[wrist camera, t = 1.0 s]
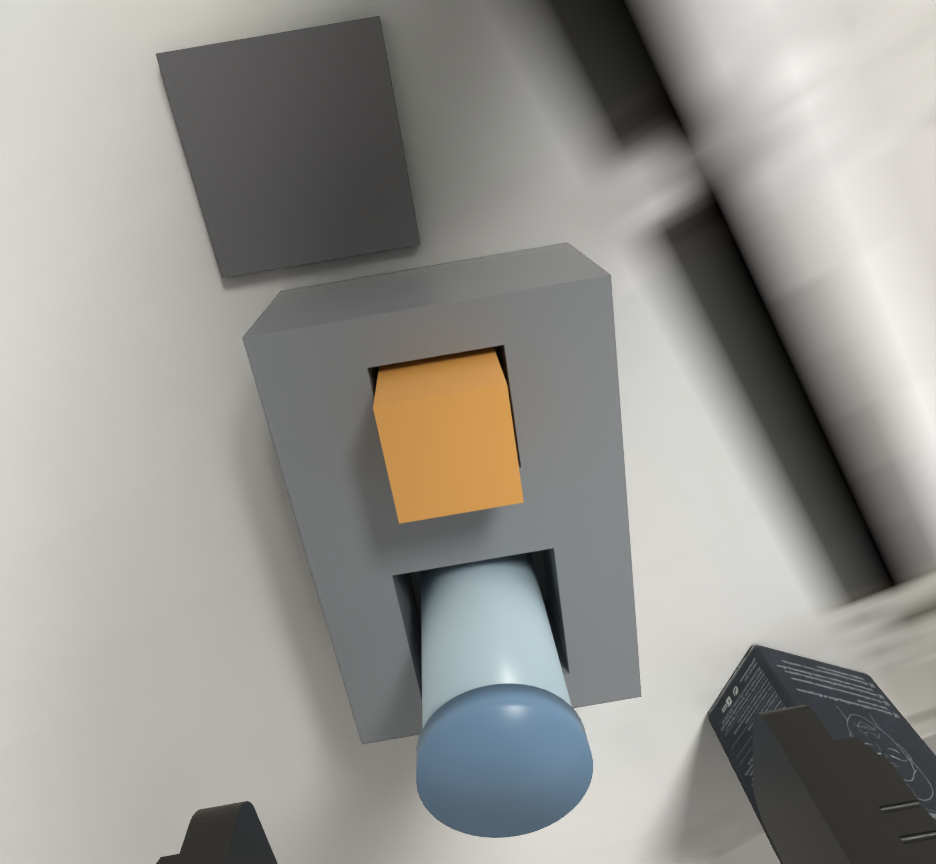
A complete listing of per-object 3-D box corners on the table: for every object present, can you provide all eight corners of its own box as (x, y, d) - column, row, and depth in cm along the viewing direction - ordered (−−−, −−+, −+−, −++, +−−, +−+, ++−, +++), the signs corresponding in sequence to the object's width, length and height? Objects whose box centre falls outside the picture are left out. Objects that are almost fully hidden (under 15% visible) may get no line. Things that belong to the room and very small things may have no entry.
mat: (161, 55, 25) (155, 53, 25) (379, 18, 25) (378, 15, 25) (225, 275, 29) (222, 278, 28) (419, 242, 29) (420, 244, 28)
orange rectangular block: (380, 357, 25) (372, 407, 21) (490, 338, 25) (507, 385, 21) (401, 456, 27) (399, 523, 22) (505, 438, 27) (523, 502, 22)
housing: (280, 291, 29) (242, 337, 23) (567, 242, 29) (610, 274, 23) (371, 635, 36) (362, 744, 30) (601, 596, 36) (641, 696, 30)
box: (704, 716, 40) (795, 902, 30) (752, 639, 38) (867, 813, 28) (818, 744, 42) (941, 931, 32) (871, 672, 40) (1019, 848, 30)
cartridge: (405, 516, 31) (400, 725, 20) (525, 495, 31) (585, 694, 20) (427, 613, 34) (433, 850, 23) (539, 594, 34) (599, 821, 23)
